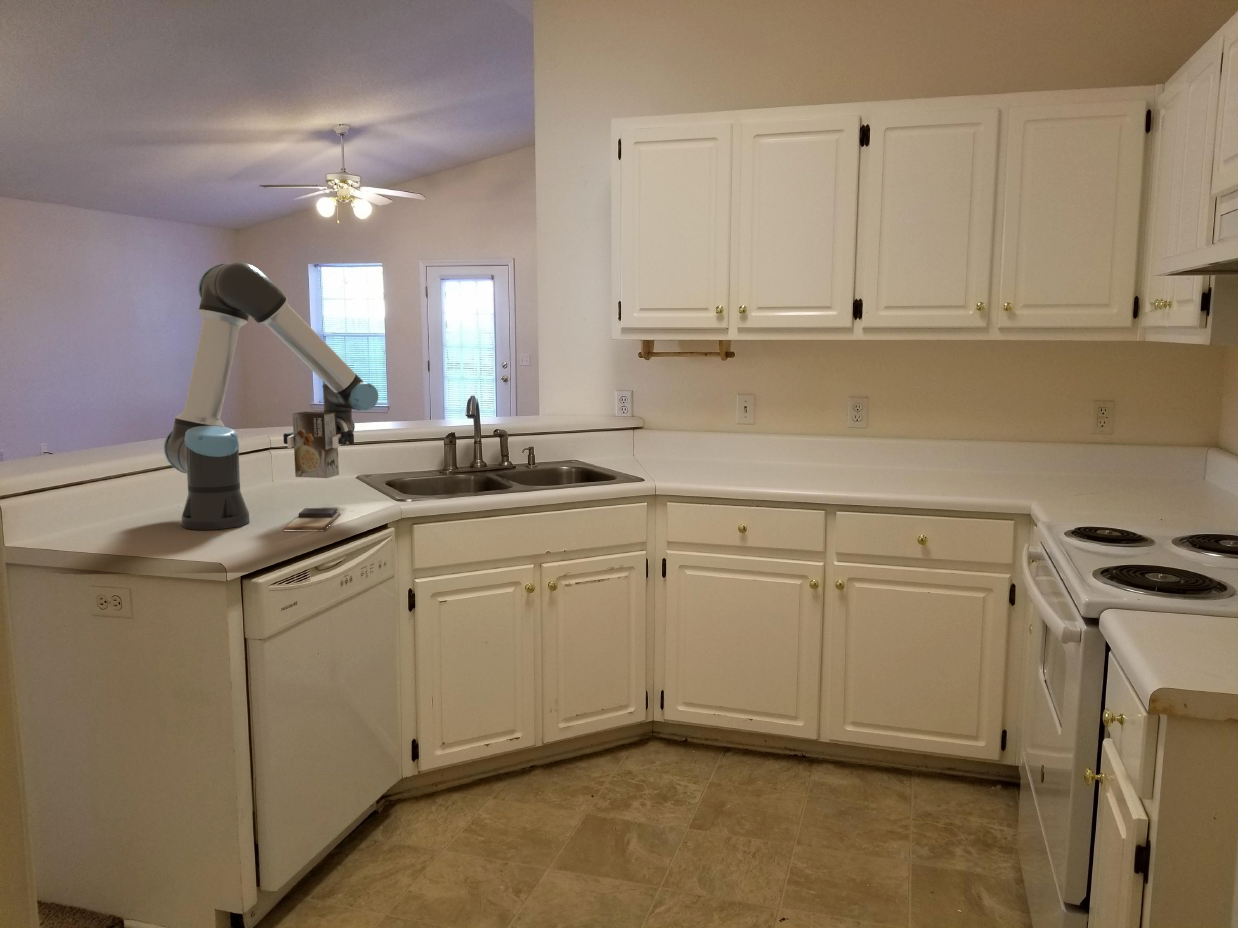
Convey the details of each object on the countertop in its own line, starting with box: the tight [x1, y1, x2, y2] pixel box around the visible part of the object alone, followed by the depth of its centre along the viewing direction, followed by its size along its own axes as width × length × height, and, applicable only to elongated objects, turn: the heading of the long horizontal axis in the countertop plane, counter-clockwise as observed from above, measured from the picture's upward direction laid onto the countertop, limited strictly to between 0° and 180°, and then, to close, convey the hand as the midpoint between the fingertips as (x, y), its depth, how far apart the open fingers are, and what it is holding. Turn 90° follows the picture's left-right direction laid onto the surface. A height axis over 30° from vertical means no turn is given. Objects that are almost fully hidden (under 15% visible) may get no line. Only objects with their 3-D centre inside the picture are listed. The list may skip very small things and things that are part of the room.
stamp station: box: [282, 507, 342, 531], centre depth 222 cm, size 10×18×2 cm, turn 6°
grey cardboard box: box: [292, 411, 340, 479], centre depth 225 cm, size 9×6×16 cm
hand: (311, 442), depth 221 cm, fingers closed on grey cardboard box, 10 cm apart
